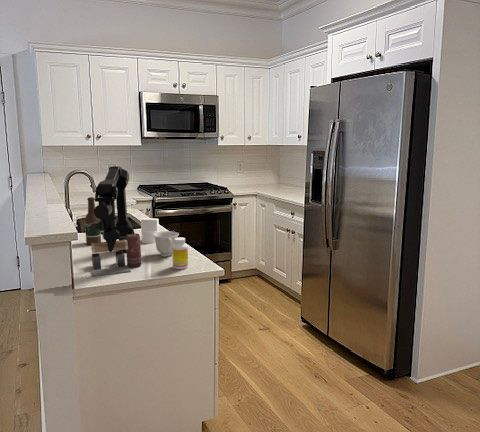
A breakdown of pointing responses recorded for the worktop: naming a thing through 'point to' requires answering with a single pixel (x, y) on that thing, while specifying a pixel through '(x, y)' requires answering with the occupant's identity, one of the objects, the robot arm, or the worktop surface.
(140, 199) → the worktop surface
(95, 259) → the post
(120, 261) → the post
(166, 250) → the teacup
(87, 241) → the beer bottle
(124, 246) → the rail
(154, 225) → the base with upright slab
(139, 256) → the can
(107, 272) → the mat
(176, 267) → the supplement bottle
